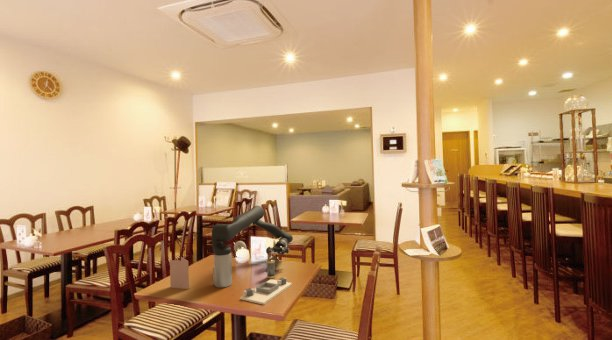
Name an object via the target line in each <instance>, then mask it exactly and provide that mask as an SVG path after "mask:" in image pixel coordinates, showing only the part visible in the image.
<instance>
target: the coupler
mask: <svg viewBox="0 0 612 340" xmlns="http://www.w3.org/2000/svg"><path fill="white" fill-rule="evenodd" d="M275 264H276V259H274V258H269V259H266V273H267V275H266V278H267V279H269V280H270V279H272V280H274V279H276V270H275V269H276V267H275V266H276V265H275Z"/></svg>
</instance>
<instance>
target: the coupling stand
mask: <svg viewBox="0 0 612 340" xmlns="http://www.w3.org/2000/svg"><path fill="white" fill-rule="evenodd" d="M291 286H293V282H288V278H287V277H280V278H278V279H269V280H267V281H265V282H262V284H259V285H258V286H256V287H255V288H253V287H252V288H250V287H249V288H245V290H243V295H241V296H240V297H239V298H240V299H239V300H241V301H247V302H249V303H255V304H258V305H264V306H265V305H266V304H267V303H269V302H270V301H271V300H274V299H275V298H276V297H277V296H278V295H280V294H282V293H283V292H284V291H285V290H286V291H287V289H289V288H290V287H291Z"/></svg>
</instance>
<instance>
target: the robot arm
mask: <svg viewBox="0 0 612 340" xmlns="http://www.w3.org/2000/svg"><path fill="white" fill-rule="evenodd" d="M264 216H265V209H264V208H263V207H262V206H261V205H255V206H253V207H252V208H251V209H250V210H248V211H245V212H243V213H240V214H238V215H237V216H235V217H234V218H233V220H232V223H216V224H214V225H213V226H212V229H211V241H212V250H213V265H214V266H213V268H212V278H213V279H212V283H213V286H215V287H216V288H227V287H229V286H232V285H233V269H232V267H233V265H232V264H233V262H232V260H233V259H232V248H231V246H229V245H228V244H226V243H225V242H230V241H231V240H233V239H234V238H235V237H236V236H237V235H238V234H239V233H241V232H243V231H245V230H246V229H247V228H249V227H250V226H252V224H253V225H256V226H257V227H259V229H260V228H261V229H262V230H264V231H265V232H267V233H268V234H269V235H271V236H272V237H273V238H275V239H278V240H279V241H278V240H277V242H276V243H274V245H273V247H271V246H268V247H267V248H266V249H265V252H266V254H267V255H268V256H270V255H271V254H275V253H276V254H278V255H279V254H280V255H281V256H284V255H285V254H289V253H290V247H289V246H288V245H289V244H291V242H292V241H293V240H294V238H293V235H292V234H291V233H290V232H287V231H286V230H283V229H281V228H280V227H278V226H277V225H276V224H274V223H271V222H267V221H263V220H261V219H262V218H264Z"/></svg>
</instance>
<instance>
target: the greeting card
mask: <svg viewBox="0 0 612 340" xmlns="http://www.w3.org/2000/svg"><path fill="white" fill-rule="evenodd" d="M189 264H190V262H189V260H187V259H186V258H184V257H182V256H180V259H179V260H176V259H174V260H173V259H169V273H170V274H169V275H170V277H169V278H170V281H169V283H170V288H171V289H172V288H173V289H183V290H190V276H189V275H190V273H189V271H190V270H189V267H190V265H189Z"/></svg>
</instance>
